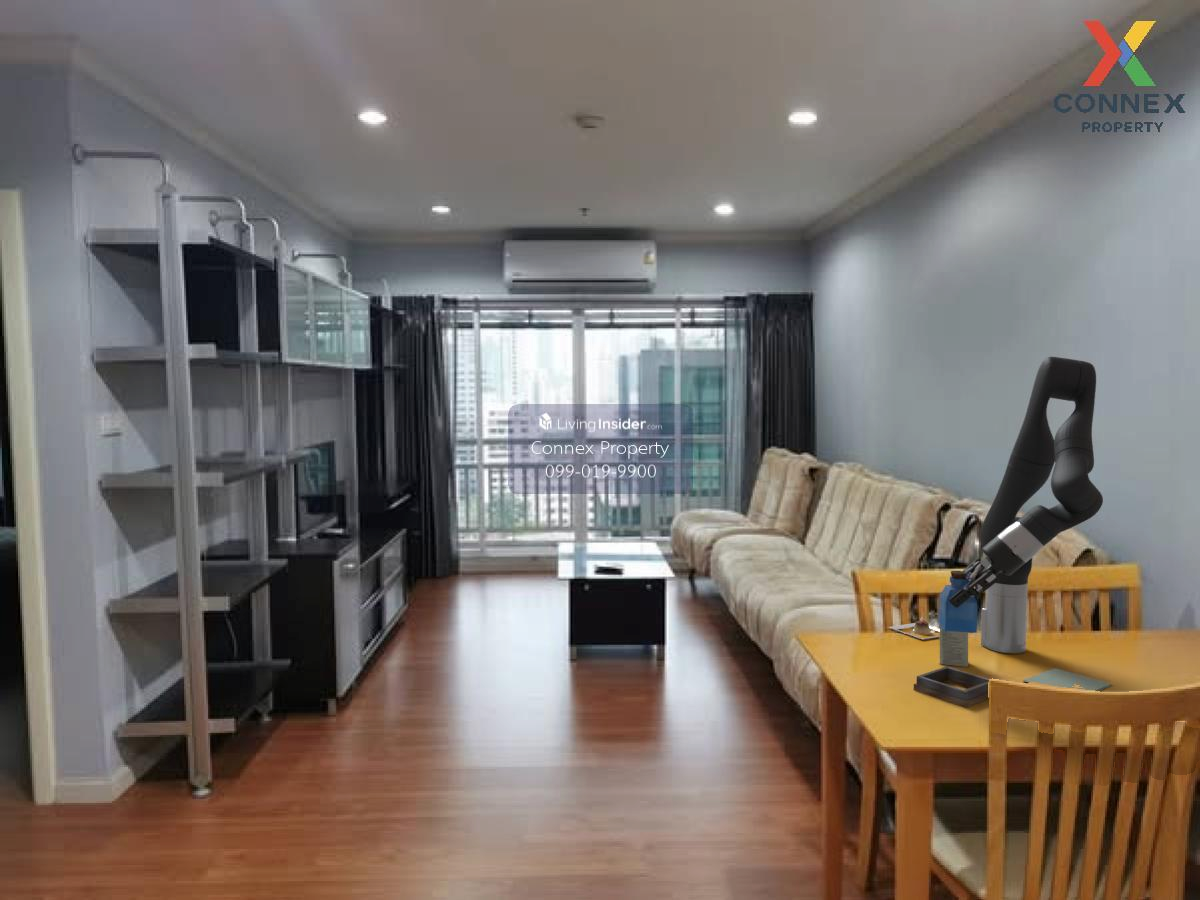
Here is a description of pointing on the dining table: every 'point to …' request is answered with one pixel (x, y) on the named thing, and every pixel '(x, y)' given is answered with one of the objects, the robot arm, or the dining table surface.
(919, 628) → the dessert
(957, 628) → the perfume bottle
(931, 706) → the dining table surface
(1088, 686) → the mat
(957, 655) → the skincare box
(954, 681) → the shallow navy tray
